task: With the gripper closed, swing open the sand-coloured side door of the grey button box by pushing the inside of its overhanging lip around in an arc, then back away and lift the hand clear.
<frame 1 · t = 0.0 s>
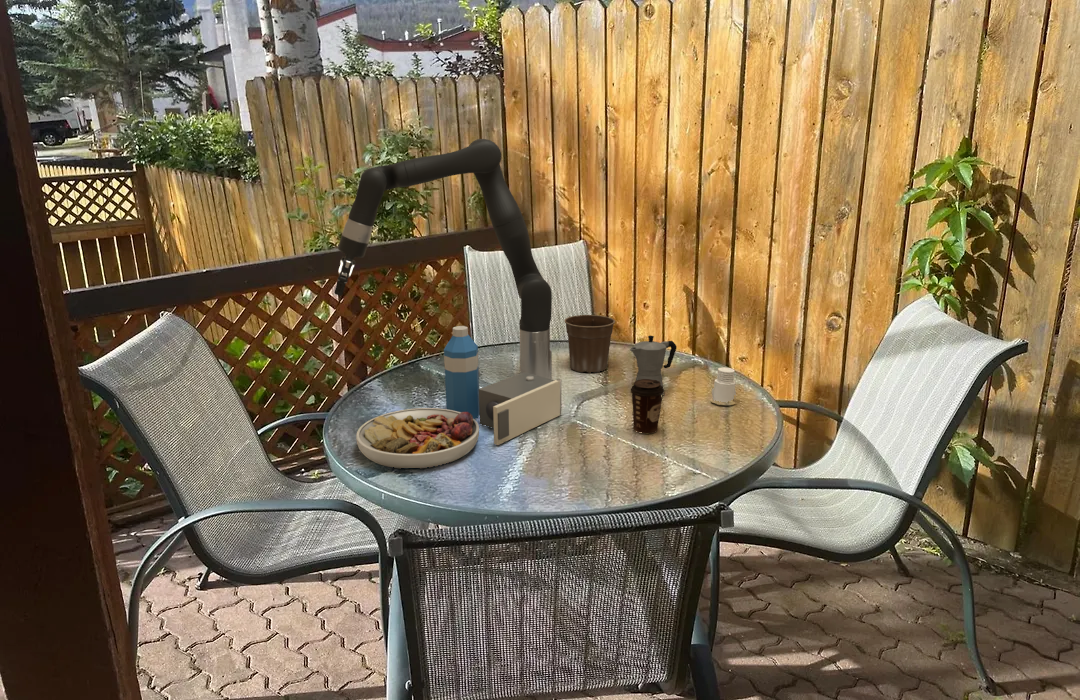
hand: (338, 291, 218), 31 cm above the table, tool tilted 20°, fingers open, 8 cm apart
coffee cup: (646, 430, 201), on the table
coffeepot: (651, 394, 227), on the table
case door: (530, 410, 199), point 5 cm above the table, hinge at 0.0°
plant pot: (589, 368, 251), on the table
bowl: (419, 448, 191), on the table
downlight: (723, 403, 220), on the table
water bottle: (463, 416, 211), on the table
grey button box: (518, 419, 208), on the table
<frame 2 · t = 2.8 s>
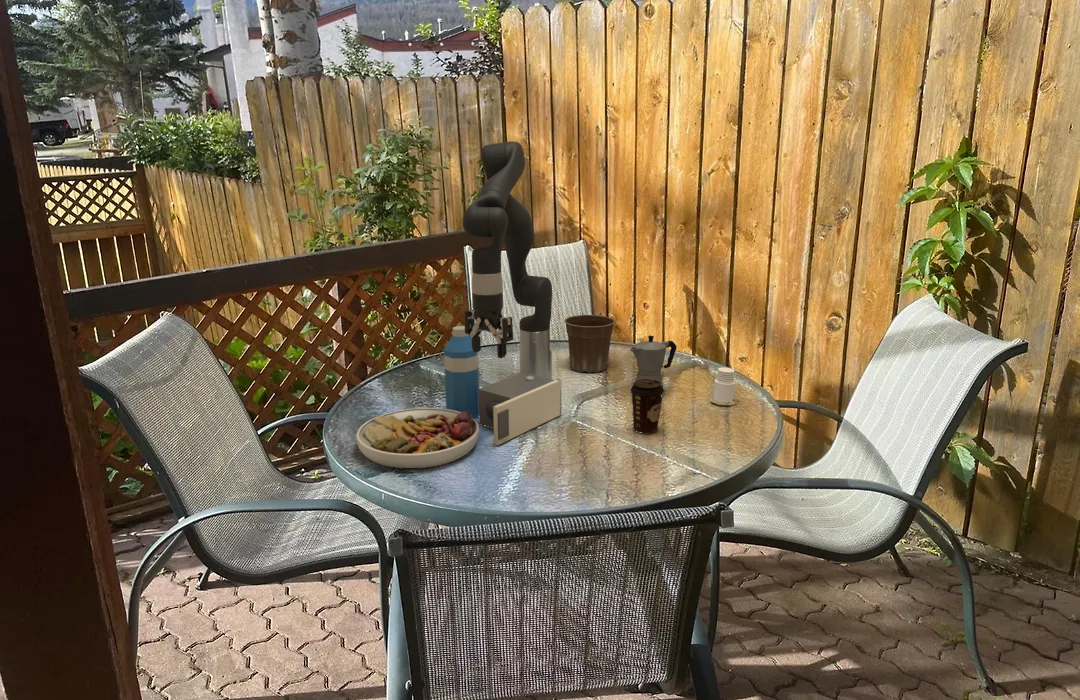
hand: (489, 354, 191), 22 cm above the table, tool pointing down, fingers open, 8 cm apart
nothing on the table moved.
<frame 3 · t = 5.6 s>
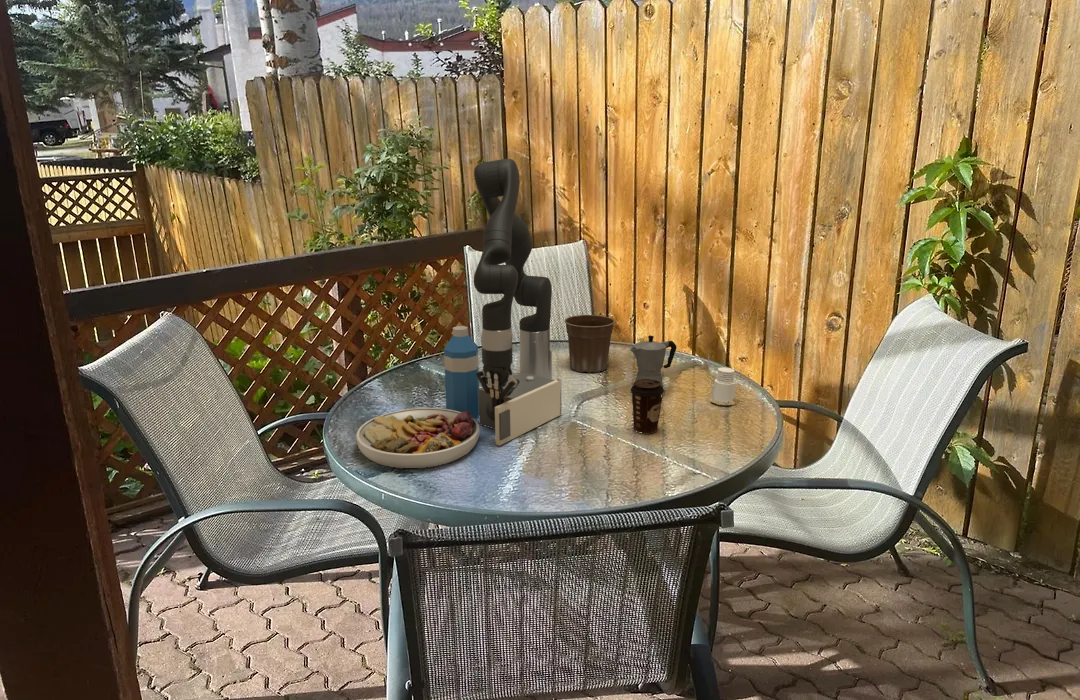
hand: (497, 410, 193), 8 cm above the table, tool pointing down, fingers closed
case door: (530, 410, 199), point 5 cm above the table, hinge at 1.1°, touching gripper
everything else where it was.
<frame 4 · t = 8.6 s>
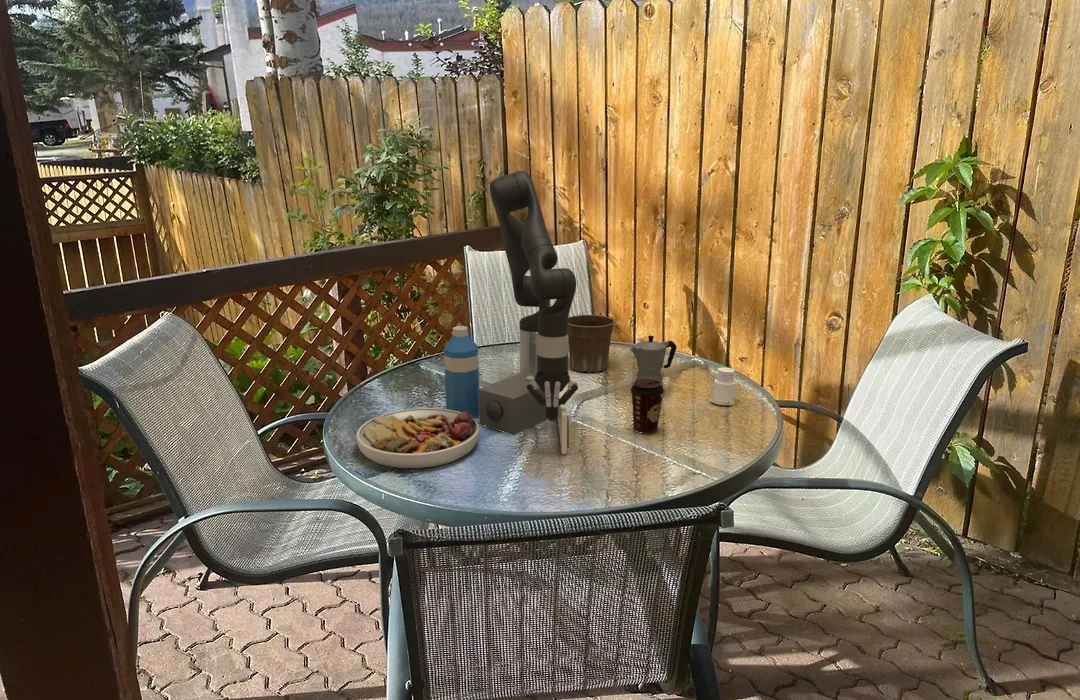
hand: (551, 420, 187), 8 cm above the table, tool pointing down, fingers closed
case door: (562, 414, 197), point 5 cm above the table, hinge at 40.0°, touching gripper
everything else where it was.
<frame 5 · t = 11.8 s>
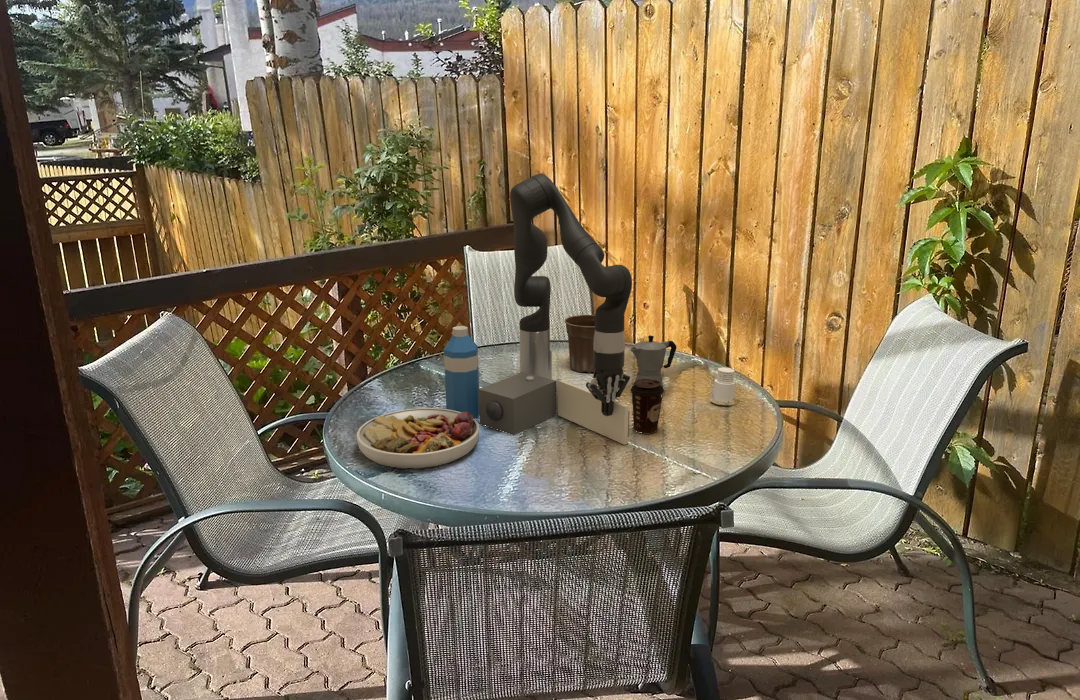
hand: (607, 414, 190), 8 cm above the table, tool pointing down, fingers closed
case door: (590, 410, 200), point 5 cm above the table, hinge at 77.1°, touching gripper
everything else where it was.
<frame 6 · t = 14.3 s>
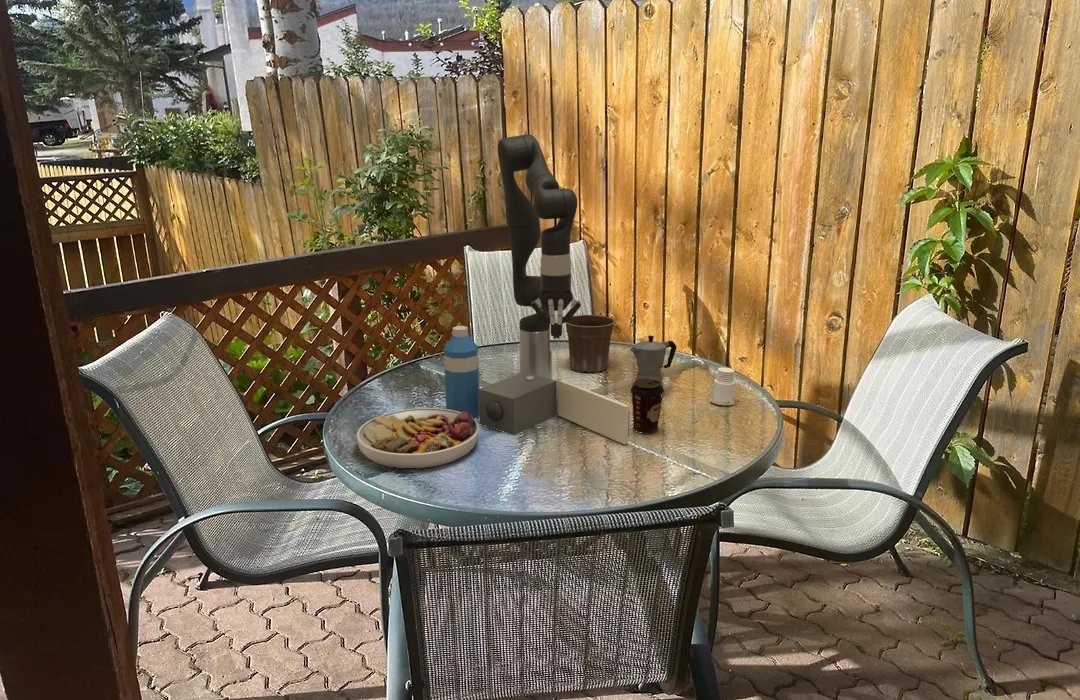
hand: (556, 337, 195), 25 cm above the table, tool pointing down, fingers closed
case door: (590, 410, 200), point 5 cm above the table, hinge at 77.2°
everything else where it was.
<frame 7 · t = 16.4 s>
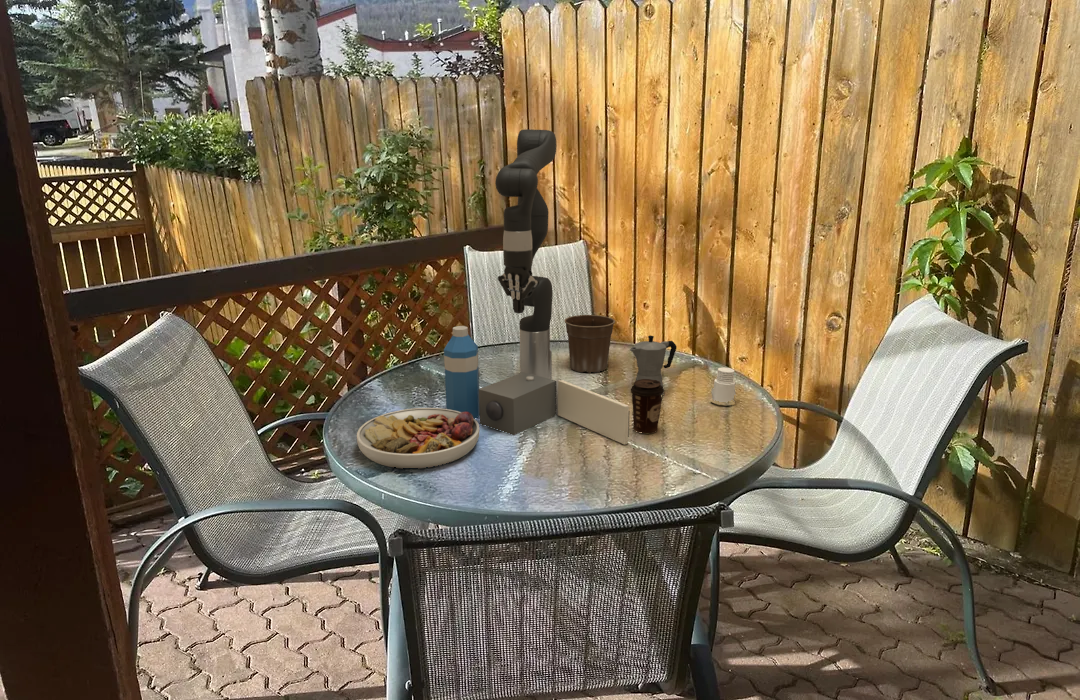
hand: (518, 312, 203), 29 cm above the table, tool pointing down, fingers closed
nothing on the table moved.
at the end: case door at +77° (first picture: +0°); water bottle moved 0.2 cm from its start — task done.
